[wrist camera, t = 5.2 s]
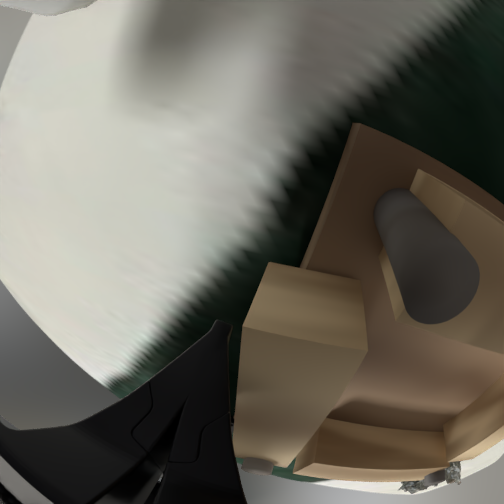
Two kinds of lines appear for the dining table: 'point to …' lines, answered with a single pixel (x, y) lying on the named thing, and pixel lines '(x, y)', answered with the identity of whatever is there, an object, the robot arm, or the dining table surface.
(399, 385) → the wooden slat frame
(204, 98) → the dining table surface
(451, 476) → the grey jagged rock
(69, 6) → the salt shaker
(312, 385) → the hinged leg
